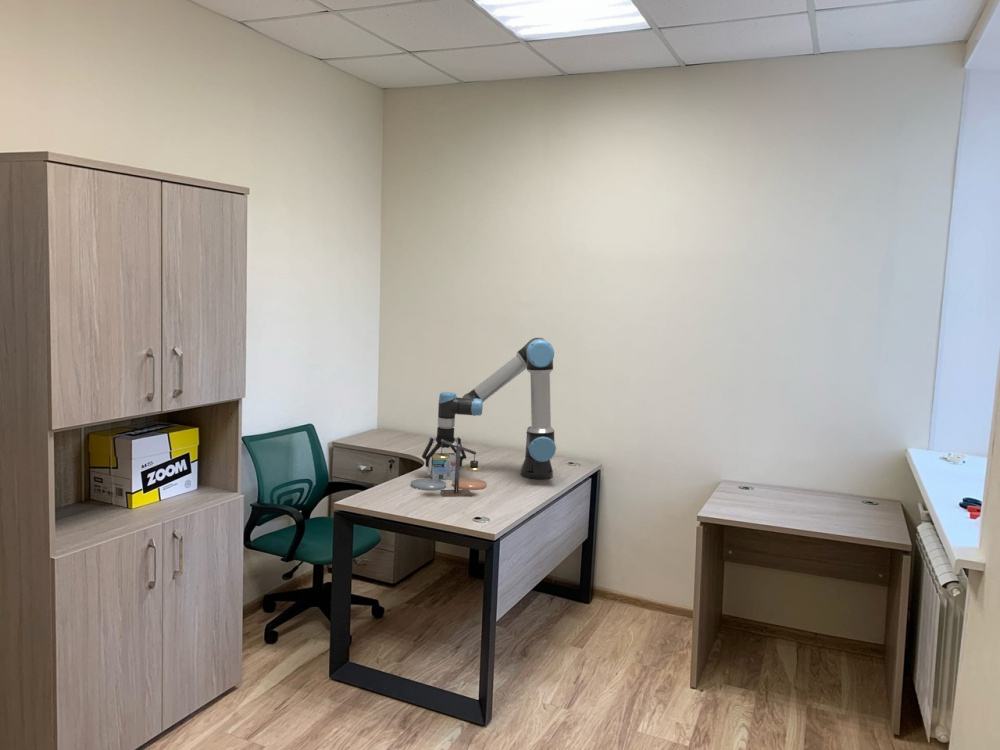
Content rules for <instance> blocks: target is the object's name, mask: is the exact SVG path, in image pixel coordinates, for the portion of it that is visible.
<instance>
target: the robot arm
mask: <svg viewBox="0 0 1000 750" xmlns="http://www.w3.org/2000/svg"><path fill="white" fill-rule="evenodd" d="M554 358H555V350H554V347H553V345H552V343H551V342H549V341H548V340H546V339H544V338H543V337H534V338H532V339H530V340H529V341H527V343H526V344H524V345H523V347H522V348H520V349H519V350H517V352H516V355H515V356H514V357H512V358H511V359H510V360H508V361H507V362H506V363H505V364H504V365H502V366H501V367H499V369H497V370H496V371H494V372H493V373H492V374H491V375H490V376H488V377H487V378H486V379H484V380H483V381H482V382H480V383H479V384H478V385H477V386H476V387H474V388H473V389H472V390H470V391H469V392H467V393H465V394H464V395H463V396H462V397H458V396H457V393H456V392H453V391H442V392H440V394H439V396H438V411H437V412H438V415H437V428H436V429H437V430H436V437H432V436H430V437H429V439H428V443H427V445H426V446H425V449H424V451H423V453H422V455H421V457H422V459H424V460H425V463H424V464H425V467H426V468H427V470H426V471H427V472H426V473H427V475H429V476H431V461H432V456H433V454H434V453H437V451H438V450H440V448H442V449H445V448H446V449H449V448H450V449H451V450H452V451H453V453H455V455H456V447H453V446H450V445H448V444H445V443H442V442H441V440H442V439H443V440H445V441H448V442H451V443H453V444H456V445H457V444H460V445H461V446H462V447H463V445H462V439H461V437H459V436H458V437H455V428H454V427H455V423H456V422H455V421H456V415H461V416H462V415H464V416H473V417H476V416H482V414H483V403H484V402H485V401H486V400H488V399H489V398H490V397H491V396H493V395H494V394H495V393H497V392H499V390H500V389H502V388H503V387H504V386H506V385H507V384H508V383H510V382H511V381H513V380H514V379H515V378H516V377H518V376H519V375H520V374H521V373H523V372H524V371H527V372H528V373H529V374H530V408H531V409H530V413H531V414H530V415H531V416H530V417H531V418H530V420H531V424H530V425H531V426H528V427H527V429H526V442H525V453H524V454H525V455H524V456H525V457H524V460H523V462H522V465H521V468H520V473H519V474H520V475H521V476H522V477H524V478H527V479H534V480H547V479H551V478H553V477H554V476H553V475H554V471H553V467H552V463H551V459H552V458H553V457H554V456H555V454H556V450H557V446H556V443H555V429H554V428H553V427H552V426H551V425H552V424H551V422H552V421H551V420H552V419H551V415H552V414H551V373H552V371H553V370H554ZM434 443H436V444H435V445H434V447H433V448H432V446H433V444H434ZM431 448H432V449H431ZM430 449H431V451H430ZM465 452H466V451H464V450H461V453H460V468H461V467H463V460H465V459H467V455H466V453H465Z"/></svg>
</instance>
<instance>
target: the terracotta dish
mask: <svg viewBox="0 0 1000 750" xmlns="http://www.w3.org/2000/svg"><path fill="white" fill-rule="evenodd" d="M454 482H455V480H452V482H451V485H452V487H454ZM487 483H488V482H487V481H485V480H483V479H478V478H471V477H461V478H460V477H459V488H458V490H467V489H469V491H478V490H484V489H486V488H487V487H488V486H487V485H488V484H487Z"/></svg>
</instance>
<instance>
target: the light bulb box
mask: <svg viewBox="0 0 1000 750" xmlns="http://www.w3.org/2000/svg"><path fill="white" fill-rule="evenodd" d="M434 454H441V452H435V453H434ZM434 454H433V455H434ZM442 454H447V455H450V459H445V460H441V459H435V458H433V456H432V457H431V466H430V477H431V479H438V480H442V481H445V480H449V481H451V480H452V481H453V480H455V464H456V454H455V452H442Z"/></svg>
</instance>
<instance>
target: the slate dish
mask: <svg viewBox="0 0 1000 750" xmlns="http://www.w3.org/2000/svg"><path fill="white" fill-rule="evenodd" d="M410 487H411V488H413V487H414V488H413V489H416V488H418V489H417V490H420V489H422V490H421V491H440V490H445V488H446V487H447V483H446V481H445V480H438V479H432V478H425V477H424V478H416V479H413V480H411V481H410Z"/></svg>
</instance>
